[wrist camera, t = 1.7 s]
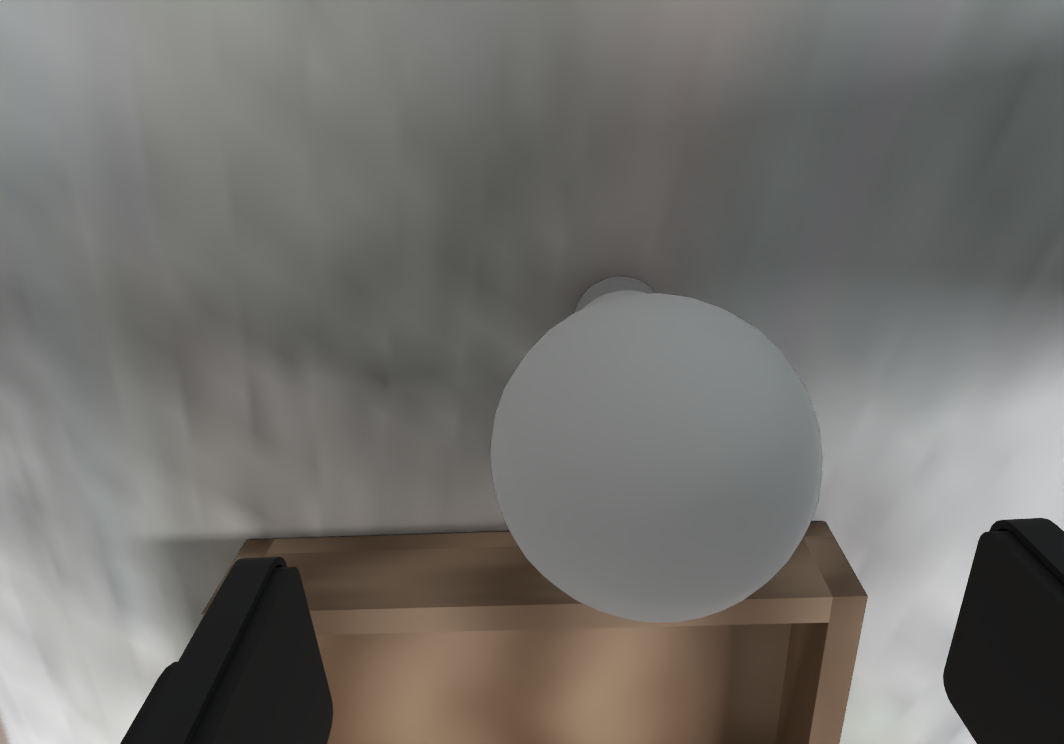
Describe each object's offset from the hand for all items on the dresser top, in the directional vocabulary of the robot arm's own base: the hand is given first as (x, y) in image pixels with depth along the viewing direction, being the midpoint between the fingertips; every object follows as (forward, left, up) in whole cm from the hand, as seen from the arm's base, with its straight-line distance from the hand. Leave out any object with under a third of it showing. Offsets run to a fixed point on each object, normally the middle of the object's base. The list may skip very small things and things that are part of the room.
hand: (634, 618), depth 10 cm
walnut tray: (+2, +14, -12) cm, 19 cm away
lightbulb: (-1, 0, -12) cm, 12 cm away
